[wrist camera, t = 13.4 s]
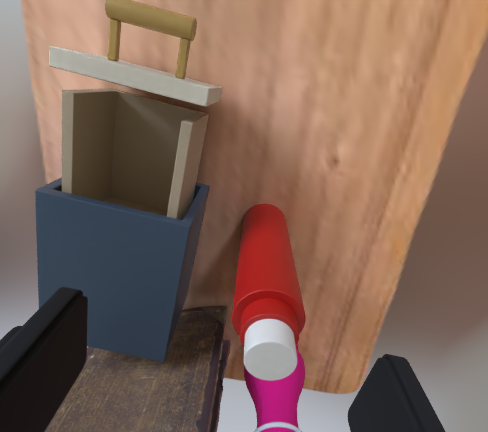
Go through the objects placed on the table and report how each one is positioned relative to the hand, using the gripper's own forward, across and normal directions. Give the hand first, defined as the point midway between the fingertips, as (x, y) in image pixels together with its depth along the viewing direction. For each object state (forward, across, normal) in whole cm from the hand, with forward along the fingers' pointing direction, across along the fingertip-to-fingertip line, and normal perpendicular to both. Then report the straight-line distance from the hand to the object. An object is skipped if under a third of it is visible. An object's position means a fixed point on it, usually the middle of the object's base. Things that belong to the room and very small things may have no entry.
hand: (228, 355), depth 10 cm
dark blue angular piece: (+23, +10, +10) cm, 27 cm away
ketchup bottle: (+24, -3, +6) cm, 24 cm away
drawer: (+23, +9, -2) cm, 25 cm away
